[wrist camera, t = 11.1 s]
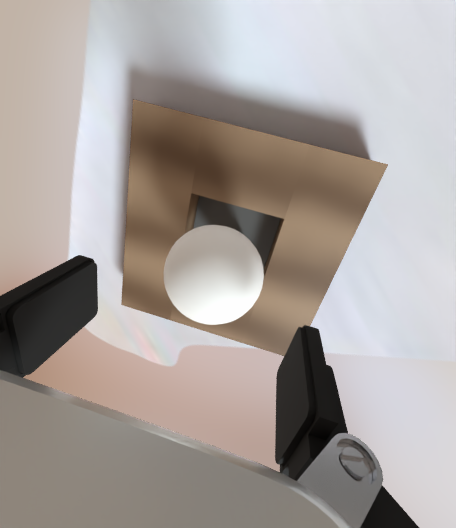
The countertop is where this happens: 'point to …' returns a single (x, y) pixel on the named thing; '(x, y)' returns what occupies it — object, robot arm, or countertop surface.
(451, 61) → the countertop surface
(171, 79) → the countertop surface
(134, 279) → the socket block
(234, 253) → the lightbulb
